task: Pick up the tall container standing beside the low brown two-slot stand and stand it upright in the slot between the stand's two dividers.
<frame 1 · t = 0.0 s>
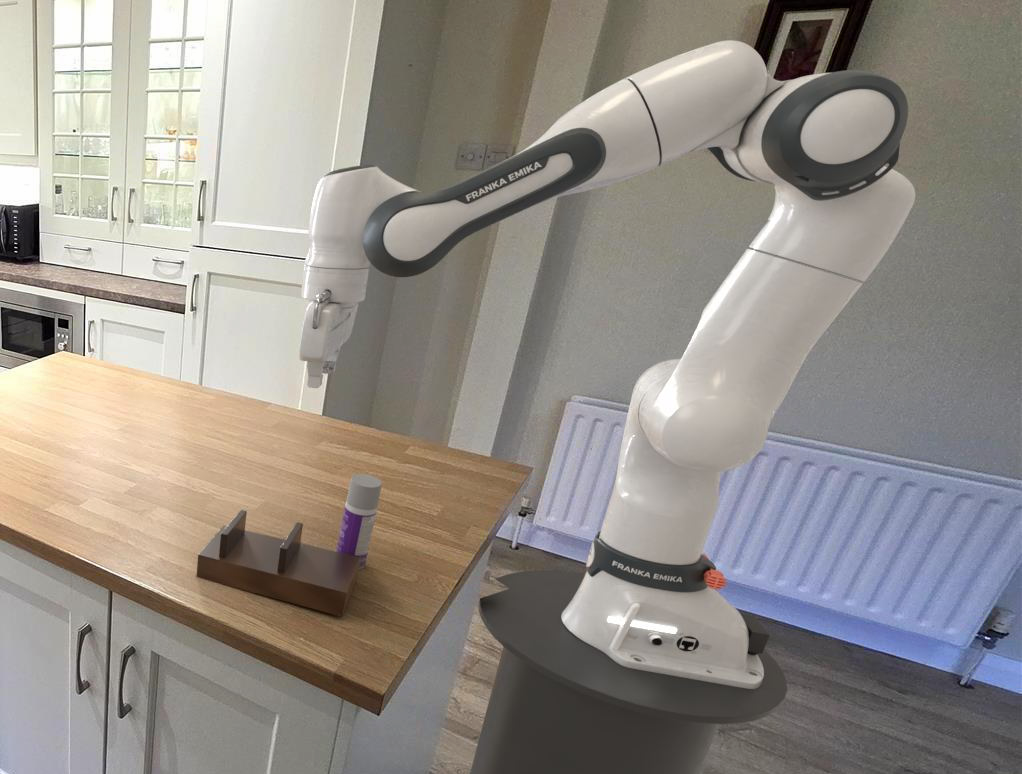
hand: (321, 379, 111), 30 cm above the countertop, tool pointing down, fingers open, 8 cm apart
container: (349, 563, 120), on the countertop
brown two-slot stand: (276, 578, 115), on the countertop
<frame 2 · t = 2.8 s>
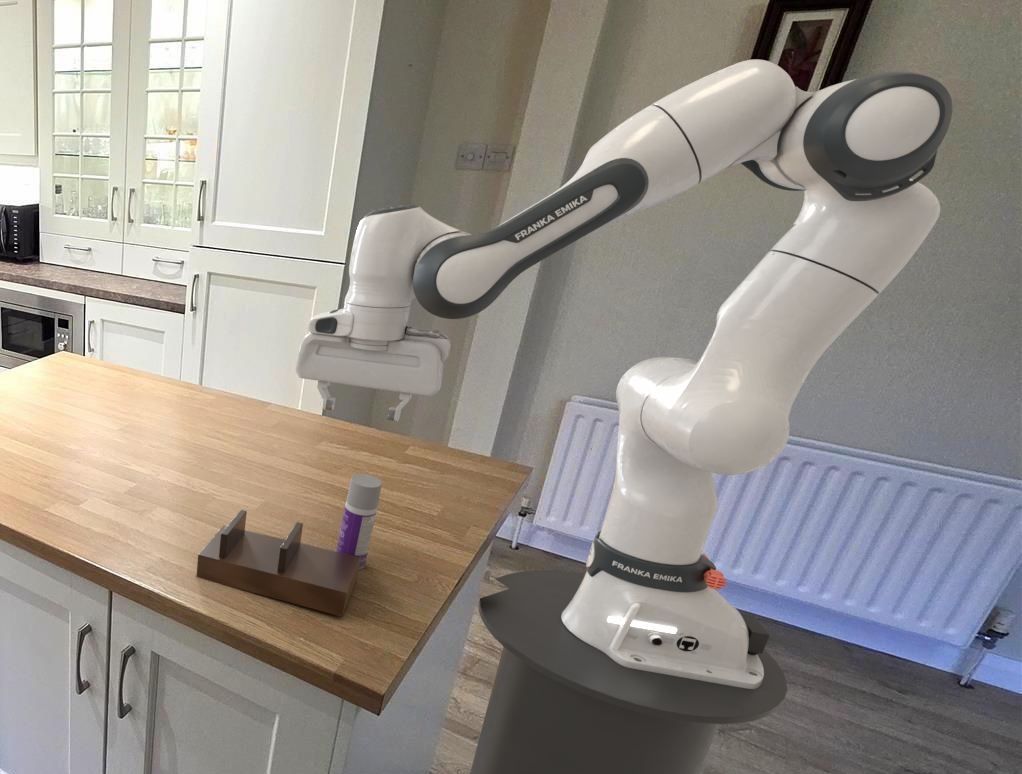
hand: (359, 414, 111), 25 cm above the countertop, tool pointing down, fingers open, 8 cm apart
nothing on the countertop moved.
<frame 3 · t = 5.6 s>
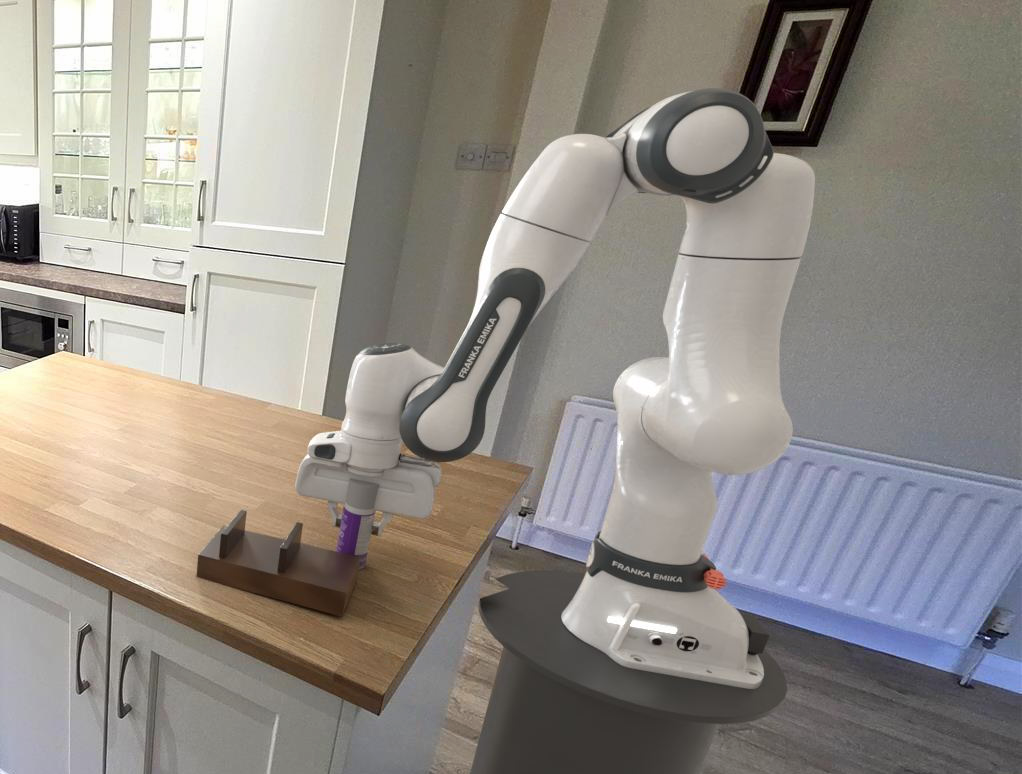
hand: (356, 530, 118), 6 cm above the countertop, tool pointing down, fingers closed on container, 4 cm apart
container: (349, 563, 120), on the countertop, touching gripper
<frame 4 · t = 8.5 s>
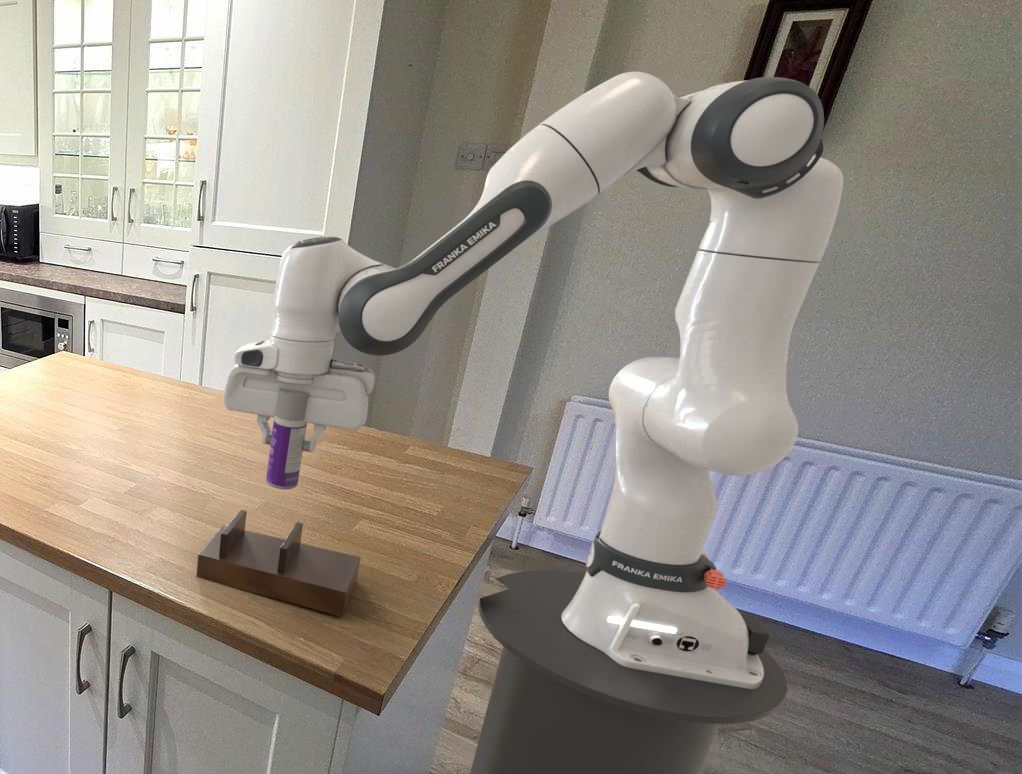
hand: (288, 447, 110), 21 cm above the countertop, tool pointing down, fingers closed on container, 4 cm apart
container: (281, 483, 112), point 15 cm above the countertop, touching gripper
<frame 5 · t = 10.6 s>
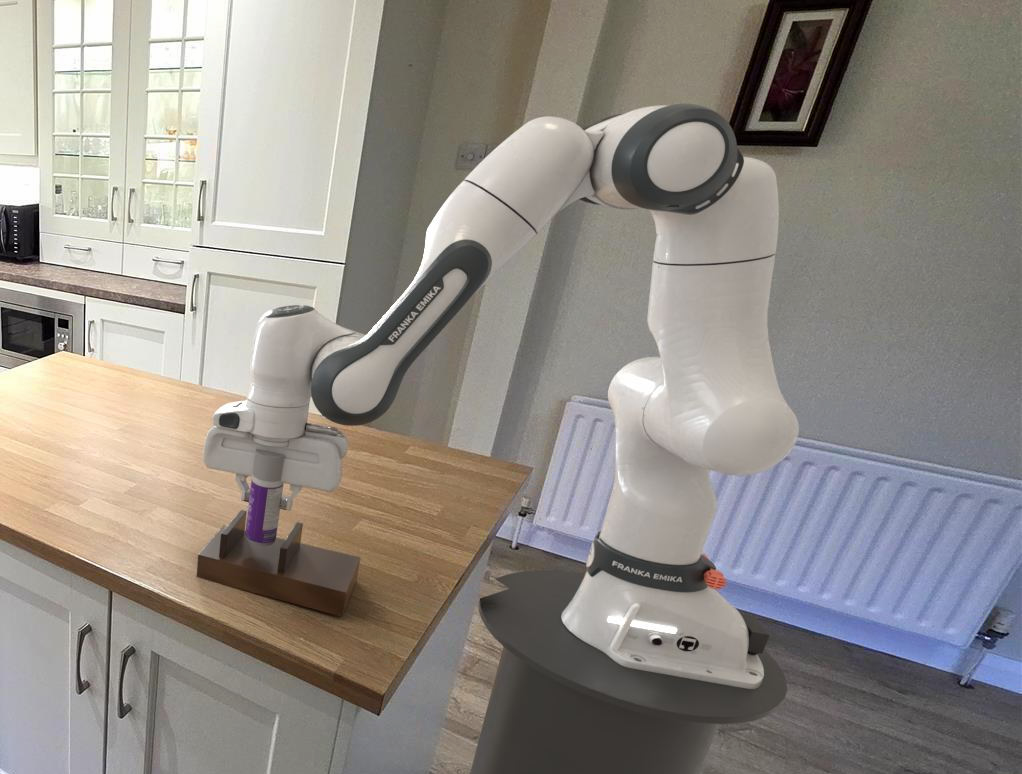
hand: (265, 504, 112), 12 cm above the countertop, tool pointing down, fingers closed on container, 4 cm apart
container: (260, 539, 115), point 6 cm above the countertop, touching gripper
when the fingers open (10 cm above the countertop, at t = 11.7 s): container stays where it is, resting on brown two-slot stand.
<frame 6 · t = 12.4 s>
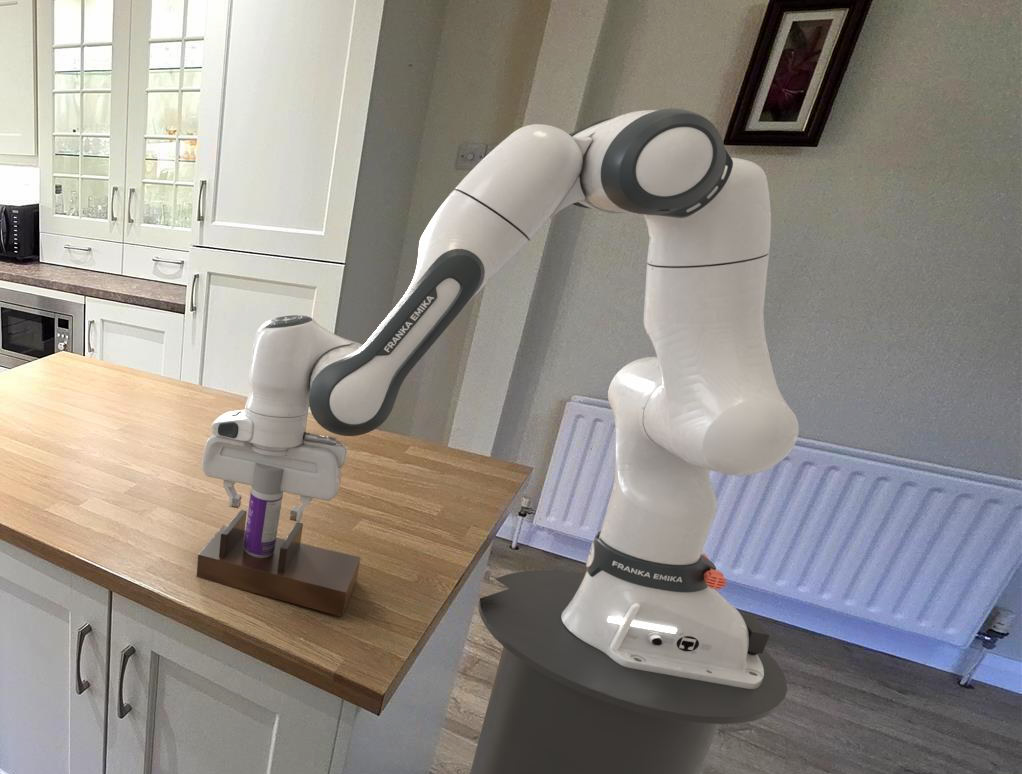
hand: (264, 513, 113), 11 cm above the countertop, tool pointing down, fingers open, 8 cm apart
container: (258, 550, 115), point 4 cm above the countertop, touching brown two-slot stand
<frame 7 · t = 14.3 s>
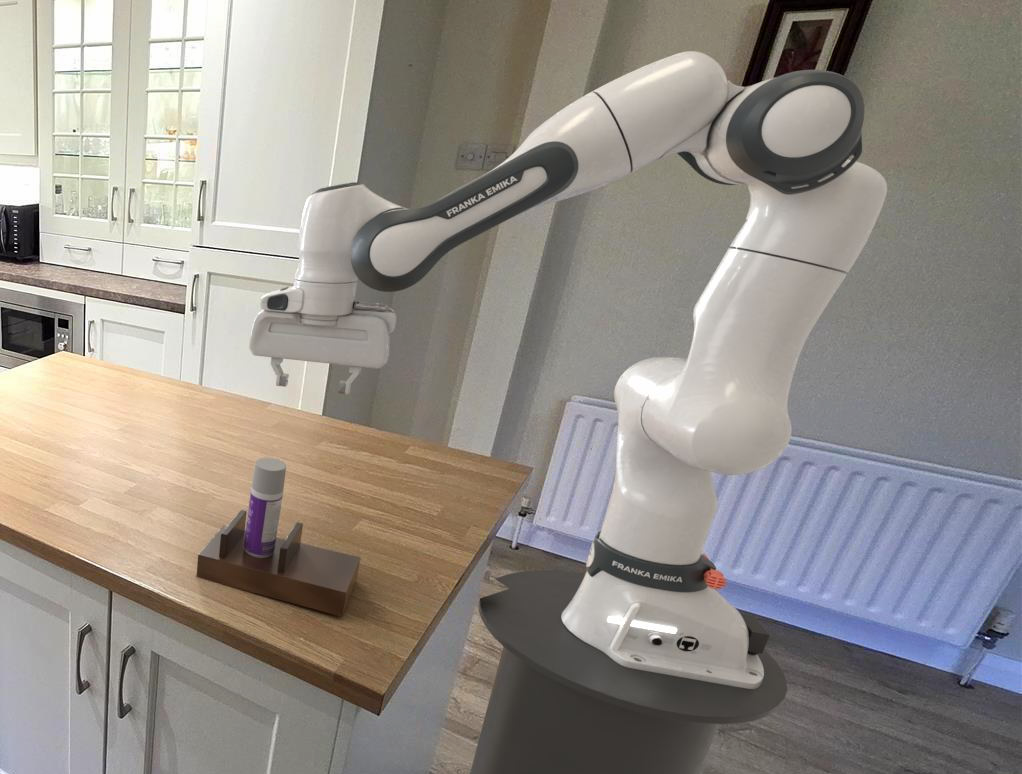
hand: (312, 389, 114), 28 cm above the countertop, tool pointing down, fingers open, 8 cm apart
nothing on the countertop moved.
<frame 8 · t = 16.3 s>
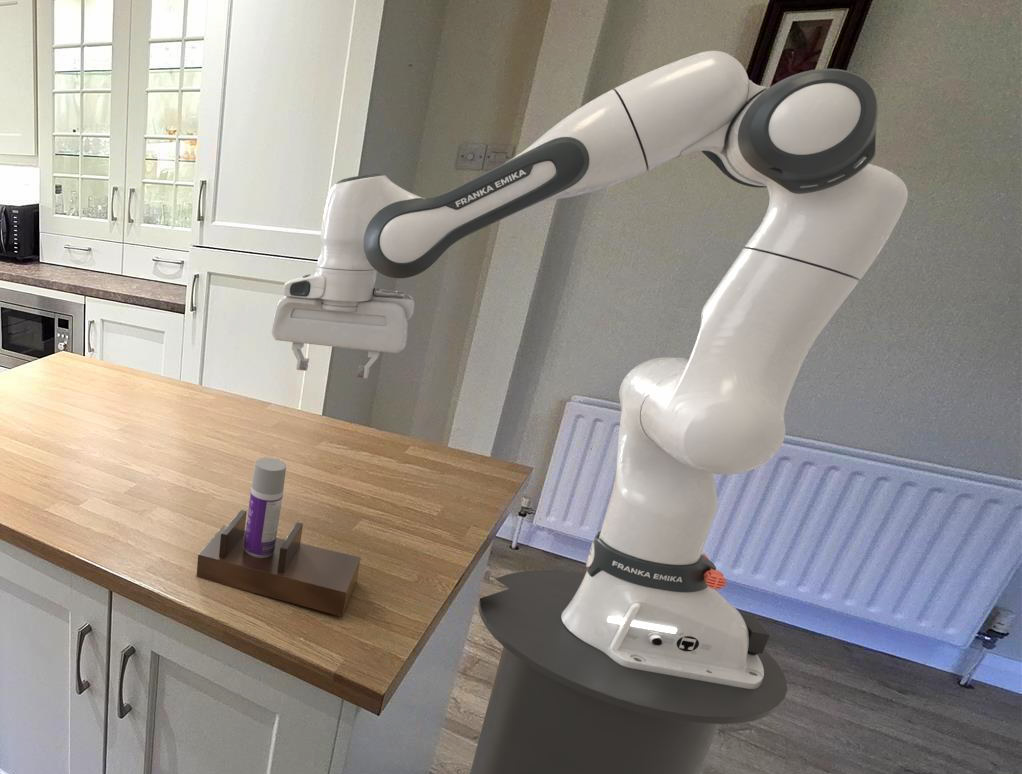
hand: (331, 373, 119), 29 cm above the countertop, tool pointing down, fingers open, 8 cm apart
nothing on the countertop moved.
at the end: container 0.2 cm from the target spot on the brown two-slot stand, point 4.0 cm above the brown two-slot stand's base; container tilted 5°; the gripper is holding nothing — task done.
